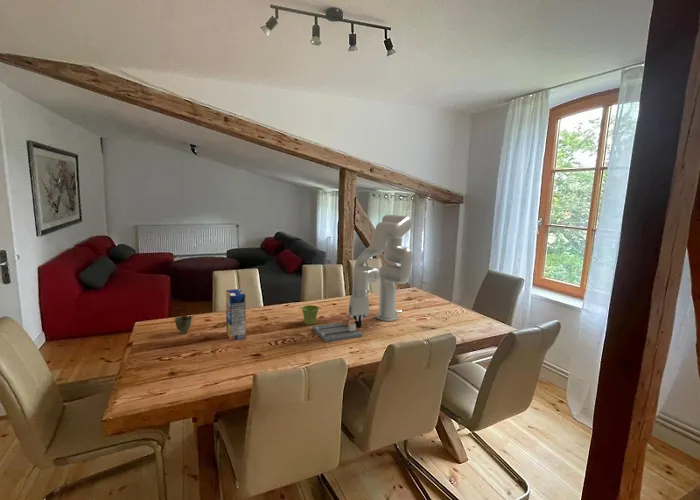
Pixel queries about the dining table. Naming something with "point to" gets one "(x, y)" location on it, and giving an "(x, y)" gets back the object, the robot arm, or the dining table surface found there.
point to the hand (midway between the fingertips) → (358, 327)
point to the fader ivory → (352, 327)
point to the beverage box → (236, 314)
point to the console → (335, 332)
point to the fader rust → (345, 321)
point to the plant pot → (310, 314)
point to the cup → (183, 323)
